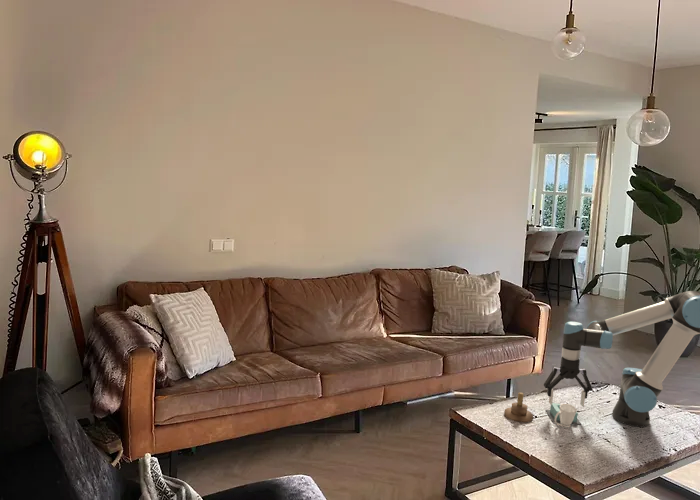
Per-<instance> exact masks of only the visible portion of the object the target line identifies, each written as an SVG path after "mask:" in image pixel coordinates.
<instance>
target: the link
mask: <svg viewBox="0 0 700 500" xmlns="http://www.w3.org/2000/svg"><path fill="white" fill-rule="evenodd" d="M560 405H561V404H560V403H556V402H552V405H551V404H550V408H549V410H550V412H551V414H552V415H553V417H554V418H555V416H556V414H557V413H558V412H559V411H560ZM578 414H579V413H578V411H577V412H576V414H575V417H574V419H573V421H572V422H577V419H578V416H579V415H578ZM556 420H560V414H559V415H558V416H557V419H556Z"/></svg>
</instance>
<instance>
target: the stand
mask: <svg viewBox="0 0 700 500" xmlns="http://www.w3.org/2000/svg"><path fill="white" fill-rule="evenodd" d="M517 394H518V395H517V401H516V402H512V403H511V407H507V408H505V409H504V412H503V413H504V414H503V415H504V417H505V418H507V419H508V420H510V421H513V422H516V423H530V422H532V421H533V419H534V415H533V413H532V412H531V411H529V410H528V405H526V404H525V403H523V402H524V401H523V400H524V392H518V393H517Z"/></svg>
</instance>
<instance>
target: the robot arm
mask: <svg viewBox="0 0 700 500" xmlns="http://www.w3.org/2000/svg"><path fill="white" fill-rule="evenodd" d="M670 319H672V325H671V326H670V327H669V329H668V330H667V332H666V334H665V335H664V337H663V338H662V340H661V341H660V342H659V344H658V345H657V347H656V349H655V350H654V352H653V353H652V354H651V356H650V358H649V359H648V361H647V362H646V364H645V365H644V367H642V368H636V367H625V368H623V370H622V373H621V381H620V388H619V394H618V400H617V402H616V404H615V405H614V407H613V409H612V412H611V414H612V415H611V416H612V417H613V419H615V420H617V422H620V423H622V424H625V425H628V426H632V427H648V426H649V425H650V421H651V415H650V412H651V411H652V410H654V408H656V405H657V403H658V397H659V395H660V394H661V393H662V391H663V389H664V387H663V382H664V380H665V379H666V377H667V376H668V375H669V373H670V372H671V371H672V369H673V367H674V366H675V364H676V363H677V361H678V360H679V359H680V357H681V355H682V354H683V353H684V352H685V350H686V348H687V346H688V345H689V344H690V342H691V341H692V339H693V338H694V336H696V335H700V291H696V290H687V291H684V292H680V293H677V294H675V295H671V296H668V297H666V298H665V299H664V300H663V301H660V302H658V303H654V304H651V305H648V306H645V307H640V308H638V309H635V310H632V311H628V312H625V313H623V314H619V315H616V316H613V317H609V318H607V319H603V320H600V321H598V320H593V321H591V322H589V323H588V325H587V328H584V325H583V323H581V322H578V321H567V322H565V323H564V327H563V333H562V335H563V336H562V347H561V357H560V358H561V359H560V365H559V366H560V367H556V366H552V369H551V373H550V374H549V375H548V377H547V378H546V380H545V381H544V383H543V386H544V388H545V389H547V394H546V395H547V397H548V404H549V405H550V406H551V405H552V403H553V402H554V400H553V399H554V388H555V387H556V386H557V385H558V384H559V383H560V382H561V381H562V380H564V379H567V380H568V379H570V380H574V379H575V380H576V381H577V382H578V384H579V385H580V386H581V388H582V389H581V395H580V404H579V405H580V406H581V407H585V402H586V400H585V399H587V398H588V393H589V392H591V391H593V386H592V385H591V383H590V380H589V378H588V375H587V369H585V368H584V367H581V368H580V363H581V362H580V361H581V360H580V358H581V350H582V347H588V348H594V349H595V348H596V349H601V350H610V349H612V347H613V339H614V338H613V337H614V336H616V335H618V334H619V335H620V334H622V333H625V332H630V331H633V330H636V329H639V328H643V327H646V326H649V325H653V324H656V323H659V322H664V321H666V320H670ZM557 373H559V374H558V375H557ZM579 374H581V375H582V376H583V377H582V378H583V379H584V381H585V384H586V385H585V384H584V383H583V382H582V380H581V379H580V378H579V376H578V375H579ZM556 375H557V376H556ZM555 376H556V378H555ZM587 400H588V399H587Z"/></svg>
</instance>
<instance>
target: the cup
mask: <svg viewBox="0 0 700 500" xmlns="http://www.w3.org/2000/svg"><path fill="white" fill-rule="evenodd" d="M576 412H577V413H578V409H577V408H576V406H574V405H572V404H569V403H561V404H560V411H559V412H558V413H557V414H556V416H555V419H554V421H555V424H557V425H558V426H559V427H563V428H570V427H571V426H572V424H571V423H572V421H573V419H574V417H575V414H576ZM559 414H560V421H561V422H560V423H557V422H556V419H557V416H558V415H559Z"/></svg>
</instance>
